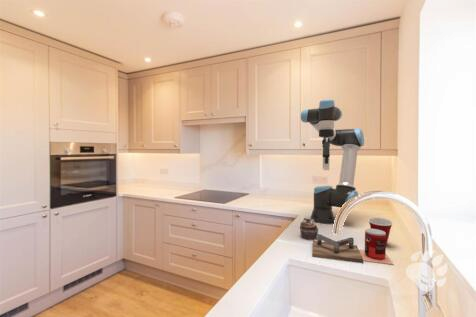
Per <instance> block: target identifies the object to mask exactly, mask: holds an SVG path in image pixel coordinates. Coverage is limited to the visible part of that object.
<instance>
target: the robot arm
mask: <svg viewBox="0 0 476 317" xmlns="http://www.w3.org/2000/svg"><path fill="white" fill-rule="evenodd" d="M318 106H319V107H318V108H311V109H310V108H309V109H308V108H307V109H304V110H302V111H301V113H300V120H301V122H302V123H308V124H310V125H311V126H312V127H313V128H314V130H316V131H317V132H318V137H319V138H322V139H323V140H322V141H321V144H322V146H321V147H322V169H323V170H322V171H330V157H331V156H330V155H331V154H330V147H331V145H333V146H335V147H341V149H342V150H343V151H342V152H343V153H342V158H341V159H342V160H341V166H340V175H339V183H338V184H336V185H335V188H333V186H332V185H321V186H315V187H314V189H313V210H312V212H311V215H310V219H311V218H312V219H313V220H314V221H315V222H314V223H318V222H319V224H333V223H335V222H334V220H336V219H335V216H334V212H333V207H335V208H341V207H342V205H343V204H344V203H345V202H347V201H348V200H349V199H351V198H353V197H355V196H358V197H359V192H358V191H357V190H356V188H357V187H356V186H354V185H355V184H354V183H355V176H356V175H355V174H356V166H357V160H358V159H357V158H358V152H359V151H360V150H361V147H364V145H365V137H364V135H365V134H364V132H363V130H362V129H361V128H347V129H345V128H344V129H335V122H337V121H339V120H341V118H342V116H343V112H342V110H341V109H340V108H339V107H338V106H336V105H335V100H334V99H331V98H329V99H328V98H327V99H322V100H320V101H319V104H318ZM341 209H342V208H341ZM331 222H332V223H331Z"/></svg>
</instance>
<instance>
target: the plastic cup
mask: <svg viewBox="0 0 476 317" xmlns="http://www.w3.org/2000/svg"><path fill="white" fill-rule="evenodd" d="M367 222H368V223H369V227H370V229H378V230H382V231H384V232H385V233H386V246H387V244H388V241H389V236H390V232H391V229H392V226H393V224H394V222H393V221H392V220H390V219H387V218H383V217H371V218H370V217H369V218H368V219H367Z"/></svg>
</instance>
